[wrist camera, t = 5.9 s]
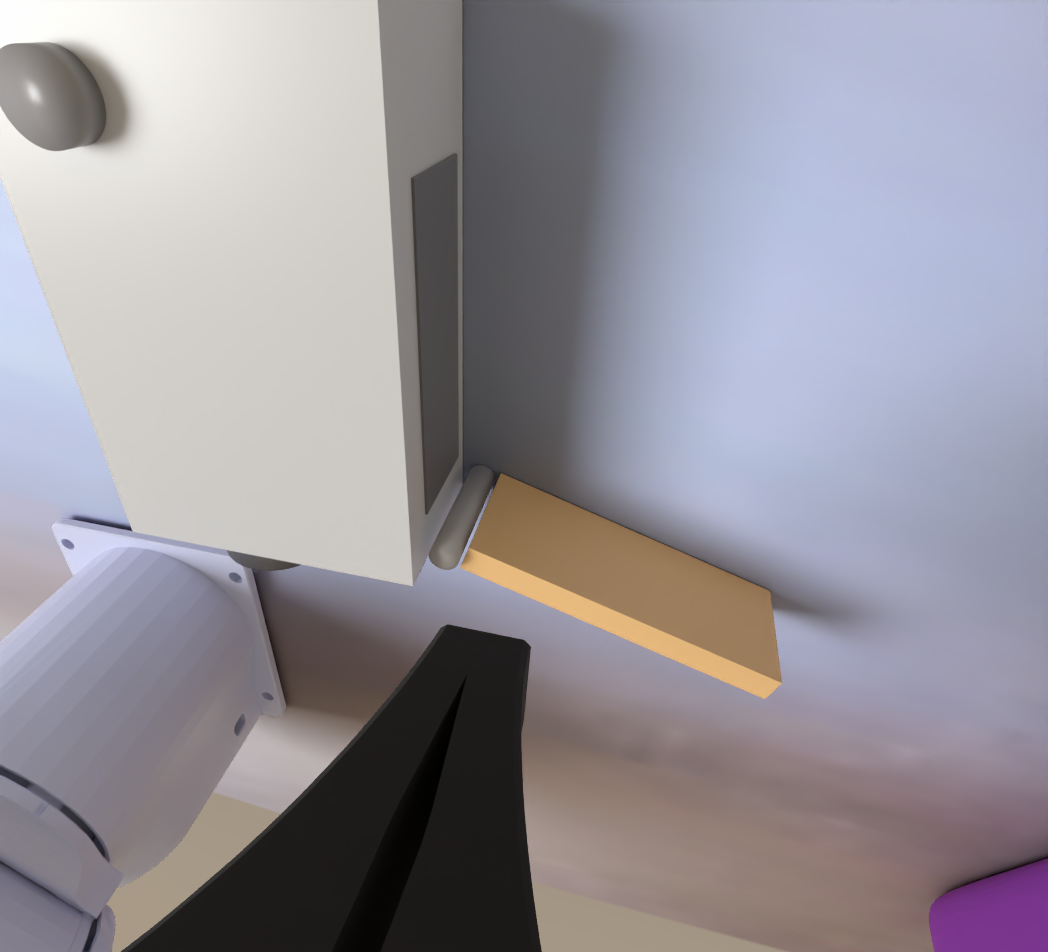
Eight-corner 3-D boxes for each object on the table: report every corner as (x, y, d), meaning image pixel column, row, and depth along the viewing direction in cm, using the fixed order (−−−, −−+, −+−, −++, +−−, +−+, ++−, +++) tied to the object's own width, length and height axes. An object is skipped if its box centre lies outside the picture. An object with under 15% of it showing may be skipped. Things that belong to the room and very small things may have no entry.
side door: (465, 480, 20) (425, 562, 17) (473, 461, 20) (433, 541, 17) (755, 607, 21) (766, 708, 18) (770, 590, 20) (783, 692, 17)
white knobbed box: (464, 516, 21) (409, 635, 17) (233, 475, 22) (130, 578, 18) (465, -46, 13) (359, -75, 9) (101, -66, 14) (-140, -100, 10)
